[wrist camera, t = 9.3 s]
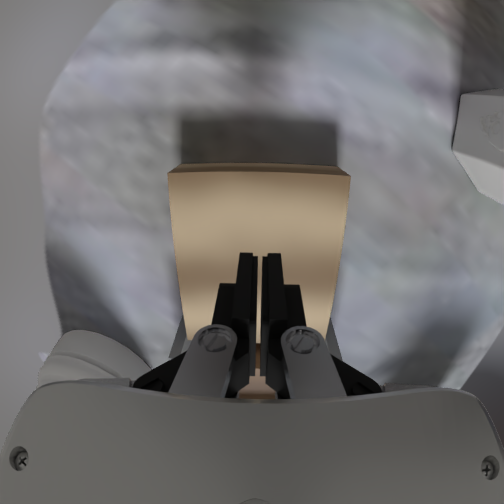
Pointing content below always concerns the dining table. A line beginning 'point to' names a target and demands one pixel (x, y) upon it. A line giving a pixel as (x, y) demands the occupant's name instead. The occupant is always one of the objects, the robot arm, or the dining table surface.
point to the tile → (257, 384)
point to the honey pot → (90, 359)
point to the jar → (482, 141)
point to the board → (257, 231)
